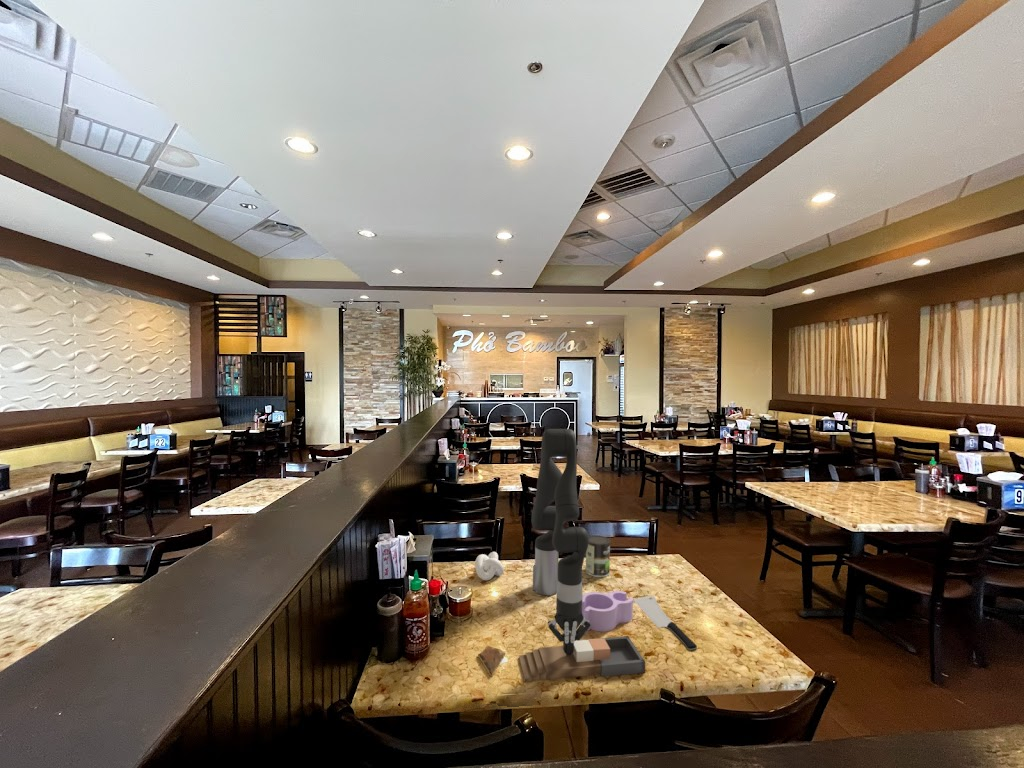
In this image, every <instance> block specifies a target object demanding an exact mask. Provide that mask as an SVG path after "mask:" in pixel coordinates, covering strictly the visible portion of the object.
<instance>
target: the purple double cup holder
mask: <svg viewBox="0 0 1024 768" xmlns="http://www.w3.org/2000/svg"><path fill="white" fill-rule="evenodd" d="M627 596H628V595H627V592H626V591H623V590H614V591H610V592H606V593H604V592H598V591H594V592H593V591H591V592H586V593H585V594H582V615H583V617H584V618H585V619H588V621H589V623H590V627H589V628H588V630H587V631H586V632H589V631H590V630H591V631H595V632H610V631H612V630H614V629H615V628H617V625H618V624H621V623H630V622H631V621H632V620H633V618H634V617H633V615H634V614H633V613H634V600H633V599H634V598H633V597H632V596H629V597H628V599H627Z"/></svg>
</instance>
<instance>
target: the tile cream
mask: <svg viewBox="0 0 1024 768" xmlns="http://www.w3.org/2000/svg"><path fill="white" fill-rule="evenodd" d="M573 654H574V657H575V659H576V661H577V662H584V661H594V650H593V648H592V646H591V644H590V642H589V640H588V639H584V640H583V639H582V640H581V639H580V640H579V641H578V640H576V641H574V651H573Z"/></svg>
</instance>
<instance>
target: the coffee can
mask: <svg viewBox="0 0 1024 768" xmlns="http://www.w3.org/2000/svg"><path fill="white" fill-rule="evenodd" d="M588 536H589V535H588ZM610 549H611V540H610V538H609V537H606V536H603V535H595V534H593V535H590V536H589V544H588V548H587V551H586V554H585V573H586V574H587V575H589V576H590V577H594V578H606V577H608V576H609V575H610V573H611V572H610V571H611V570H610V566H611V565H610V563H611V558H610V557H611V550H610Z"/></svg>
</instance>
